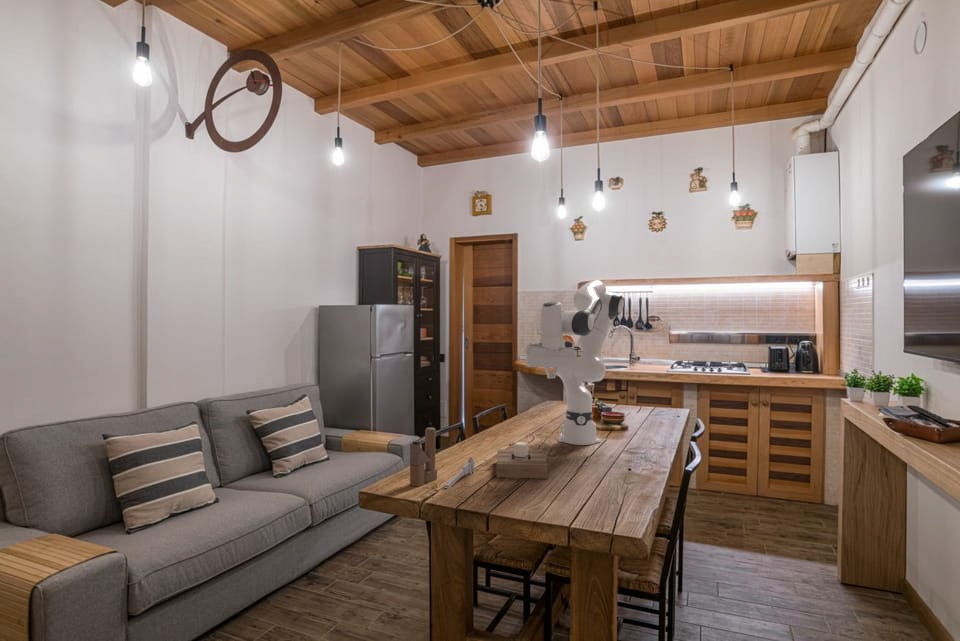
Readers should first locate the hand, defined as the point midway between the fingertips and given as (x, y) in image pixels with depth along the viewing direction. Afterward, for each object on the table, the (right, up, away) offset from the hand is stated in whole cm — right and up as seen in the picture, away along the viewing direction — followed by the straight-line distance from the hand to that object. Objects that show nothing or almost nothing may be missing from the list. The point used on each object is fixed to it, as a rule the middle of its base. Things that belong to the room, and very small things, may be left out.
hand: (551, 378), depth 201 cm
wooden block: (-47, -33, -24) cm, 63 cm away
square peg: (-13, -33, -10) cm, 37 cm away
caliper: (-35, -34, -23) cm, 54 cm away
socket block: (-13, -33, -10) cm, 37 cm away
